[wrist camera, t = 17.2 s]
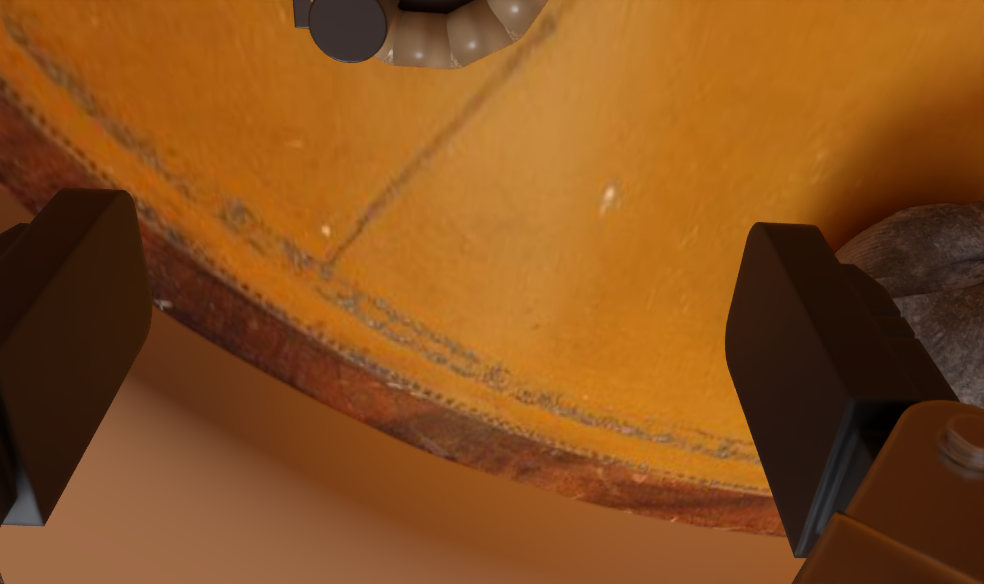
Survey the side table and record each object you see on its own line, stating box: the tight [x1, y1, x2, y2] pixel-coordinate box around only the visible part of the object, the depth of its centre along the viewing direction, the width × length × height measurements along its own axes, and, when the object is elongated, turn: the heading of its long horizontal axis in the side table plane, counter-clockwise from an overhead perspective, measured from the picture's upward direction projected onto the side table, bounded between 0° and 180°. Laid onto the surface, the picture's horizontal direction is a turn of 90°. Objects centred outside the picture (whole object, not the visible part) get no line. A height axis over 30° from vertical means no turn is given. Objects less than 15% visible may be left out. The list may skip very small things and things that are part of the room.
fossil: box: [835, 201, 984, 409], centre depth 38 cm, size 15×14×10 cm
